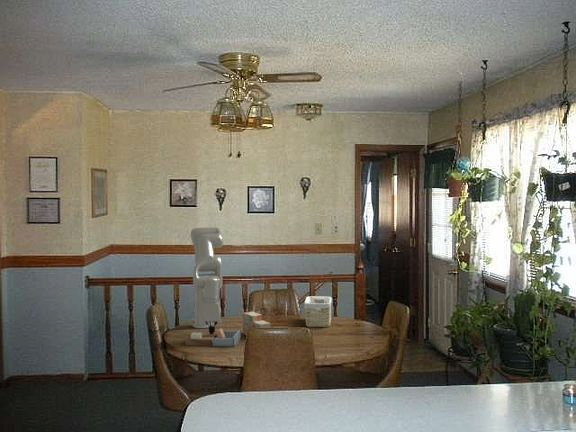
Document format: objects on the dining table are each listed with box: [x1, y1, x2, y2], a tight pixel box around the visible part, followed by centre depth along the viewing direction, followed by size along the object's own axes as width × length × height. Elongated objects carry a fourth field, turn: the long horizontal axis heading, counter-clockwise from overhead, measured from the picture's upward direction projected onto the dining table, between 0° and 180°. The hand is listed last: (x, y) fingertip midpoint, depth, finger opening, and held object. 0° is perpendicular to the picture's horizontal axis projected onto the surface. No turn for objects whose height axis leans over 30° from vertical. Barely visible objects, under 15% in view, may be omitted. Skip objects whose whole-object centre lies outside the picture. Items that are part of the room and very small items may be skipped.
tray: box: [211, 328, 242, 348], centre depth 321 cm, size 18×12×5 cm, turn 173°
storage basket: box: [303, 295, 333, 328], centre depth 366 cm, size 24×16×15 cm
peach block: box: [215, 327, 225, 339], centre depth 325 cm, size 5×5×2 cm
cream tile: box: [190, 331, 203, 339], centre depth 319 cm, size 5×5×2 cm
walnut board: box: [184, 332, 217, 347], centre depth 323 cm, size 16×14×3 cm
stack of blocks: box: [242, 311, 271, 336], centre depth 333 cm, size 21×6×12 cm, turn 31°
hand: (211, 333), depth 326 cm, fingers closed
